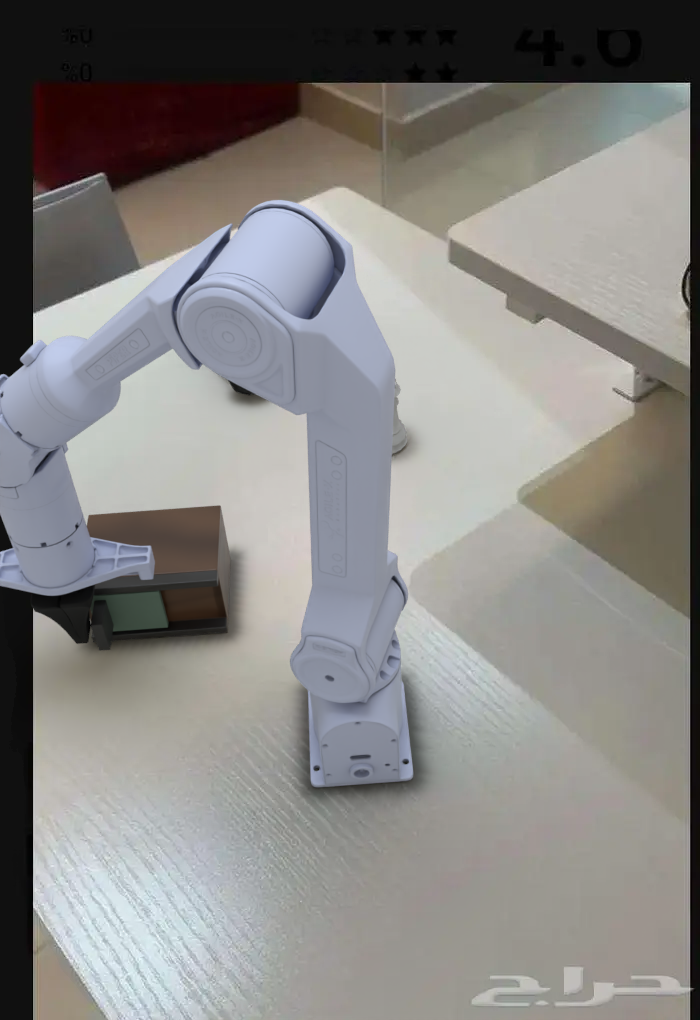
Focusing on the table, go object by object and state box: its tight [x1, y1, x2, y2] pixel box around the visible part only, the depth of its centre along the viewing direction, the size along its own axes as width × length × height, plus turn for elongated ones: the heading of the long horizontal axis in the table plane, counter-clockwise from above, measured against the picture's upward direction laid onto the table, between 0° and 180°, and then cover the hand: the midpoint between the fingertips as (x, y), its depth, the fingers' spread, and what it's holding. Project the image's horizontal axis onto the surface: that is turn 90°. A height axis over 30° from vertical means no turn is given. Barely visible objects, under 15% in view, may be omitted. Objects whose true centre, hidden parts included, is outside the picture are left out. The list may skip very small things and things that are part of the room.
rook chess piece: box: [392, 378, 408, 455], centre depth 108 cm, size 4×4×8 cm
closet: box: [86, 504, 232, 643], centre depth 95 cm, size 9×12×7 cm
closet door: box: [90, 590, 169, 651], centre depth 91 cm, size 3×6×5 cm, turn 93°
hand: (83, 634), depth 90 cm, fingers closed, pressing on closet
